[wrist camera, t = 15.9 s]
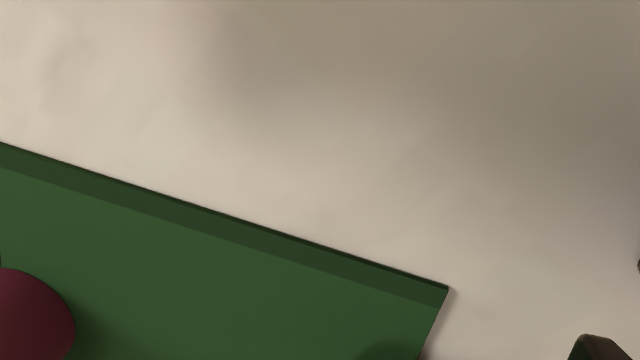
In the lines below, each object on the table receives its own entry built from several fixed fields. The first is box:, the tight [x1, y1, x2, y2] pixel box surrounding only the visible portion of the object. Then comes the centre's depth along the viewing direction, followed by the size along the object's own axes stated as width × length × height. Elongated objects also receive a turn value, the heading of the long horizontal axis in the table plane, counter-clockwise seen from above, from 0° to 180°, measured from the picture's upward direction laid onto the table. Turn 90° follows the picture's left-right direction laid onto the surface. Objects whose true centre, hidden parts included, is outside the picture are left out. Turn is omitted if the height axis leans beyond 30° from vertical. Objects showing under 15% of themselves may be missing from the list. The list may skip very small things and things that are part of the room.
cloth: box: [0, 142, 448, 360], centre depth 28 cm, size 22×14×1 cm, turn 75°
